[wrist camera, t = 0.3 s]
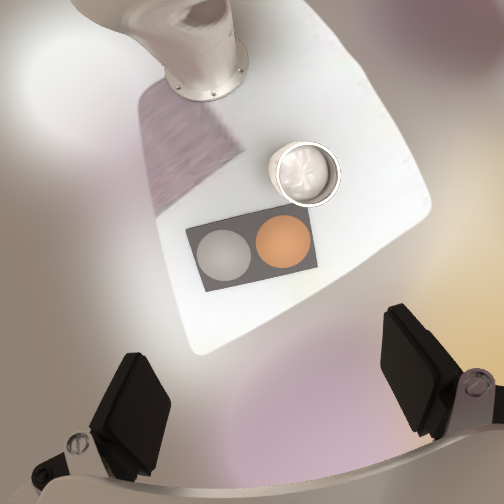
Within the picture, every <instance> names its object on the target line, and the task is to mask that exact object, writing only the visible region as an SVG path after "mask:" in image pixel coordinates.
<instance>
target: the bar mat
mask: <svg viewBox="0 0 504 504" xmlns="http://www.w3.org/2000/svg"><path fill="white" fill-rule="evenodd" d="M186 234H187V237H188V240H189V243H190V246H191V249H192V253H193V256H194V259H195V262H196V265H197V268H198V271H199V274H200V277H201V280H202V283H203V286H204V288H205V291H206V292H209V291H213V290H218V289H223V288H228V287H232V286H237V285H242V284H246V283H251V282H255V281H260V280H264V279H269V278H273V277H277V276H282V275H286V274H290V273H295V272H299V271H303V270H307V269H312V268H316V267H318V266H317V260H316V254H315V248H314V242H313V236H312V230H311V225H310V220H309V214H308V209H307V207H301V206H298V205H296V204H289V205H285V206H280V207H276V208H271V209H267V210H263V211H258V212H254V213H250V214H246V215H242V216H237V217H233V218H229V219H225V220H221V221H217V222H213V223H209V224H205V225H201V226H198V227H194V228H190V229H186Z"/></svg>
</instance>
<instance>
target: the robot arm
mask: <svg viewBox="0 0 504 504" xmlns="http://www.w3.org/2000/svg"><path fill="white" fill-rule="evenodd" d="M71 2H72V4H73V5H74V6H75V7H76V9H77V10H78V11H79V12H80V13H82V14H83V15H84V16H86V17H87V18H89V19H90V20H92V21H93V22H95V23H97V24H99V25H101V26H103V27H105V28H108V29H111V30H113V31H116V32H119V33H122V34H125V35H128V36H130V37H131V38H133V39H134V40H136V41H137V42H138V43H140V44H141V45H142V46H143V47H144V48H145V49H146V50H147V51H148V52H149V53H150V54H151V55H152V56H154V57H155V58H156V59H157V60H158V61H159V62H160V63H161V64H162V65H163V66H164V67H165V77H166V79H167V82H168V84H169V85H170V87H171V88H172V89H173V90H174V91H175V92H176V93H177V94H178V95H180V96H181V97H183V98H185V99H188V100H191V101H197V102H209V101H214V100H218V99H220V98H223V97H225V96H227V95H228V94H230V93H232V92H233V91H234V90H235V89H236V88H238V86H239V85H240V84H241V83H242V81H243V80H244V78H245V76H246V73H247V70H248V55H247V52H246V49H245V47H244V46H243V44H242V43H241V42H240V41H239V40H238V39H237V38H236V37H235V35H234V28H233V20H232V11H231V6H230V3H229V1H228V0H71ZM240 71H243V73H240ZM178 88H181V89H180V90H178ZM213 94H216V96H215V97H213V96H212V95H213ZM380 365H381V369H382V372H383V374H384V375H385V378H386V379H387V381H388V383H389V385H390V387H391V389H392V391H393V393H394V395H395V397H396V399H397V401H398V403H399V405H400V407H401V409H402V411H403V413H404V415H405V417H406V419H407V421H408V423H409V425H410V427H411V429H412V431H413V432H417V433H418V435H419V437H421V436H424V435H426V434H428V433H429V434H430V436H431V438H433V440H432V442H431V443H429V444H427V445H424V446H422V447H419V448H417V449H415V450H412V451H410V452H407V453H405V454H402V455H399V456H397V457H394V458H391V459H389V460H385V461H382V462H380V463H377V464H373V465H371V466H367V467H364V468H361V469H357V470H353V471H350V472H346V473H342V474H339V475H334V476H330V477H325V478H321V479H315V480H310V481H305V482H298V483H292V484H285V485H277V486H268V487H257V488H242V489H194V488H193V489H192V488H178V487H167V486H157V485H149V484H142V483H139V482H138V480H137V475H142V476H151V472H152V470H154V469H155V467H156V463H157V459H158V455H159V451H160V447H161V442H162V439H163V435H164V431H165V427H166V423H167V419H168V416H169V412H170V408H171V401H170V398H169V396H168V395H167V393H166V392H165V390H164V388H163V386H162V385H161V383H160V381H159V380H158V378H157V376H156V374H155V373H154V371H153V369H152V367H151V365H150V363H149V362H148V360H147V358H146V357H145V356H143V355H142V354H141V353H139V352H137V353H127V354H126V355H125V356H124V358H123V360H122V362H121V364H120V365H119V367H118V369H117V371H116V373H115V375H114V377H113V379H112V381H111V383H110V385H109V387H108V389H107V391H106V392H105V394H104V397H103V398H102V401H101V402H100V404H99V407H98V409H97V411H96V413H95V415H94V417H93V419H92V421H91V423H90V425H89V427H90V428H91V431H90V433H89V432H88V431H86V430H77V431H74V432H73V433H71V434H70V435H69V436H68V437H67V438H66V440H65V441H64V445H63V447H64V452H63V453H61V454H59V455H57V456H55V457H53V458H51V459H49V460H47V461H45V462H43V463H41V464H39V465H38V466H36V468H35V469H34V470H33V473H32V477H31V478H32V482H31V481H30V480H28V481H27V482H26V483H25V484H24V485H23V486H22V487H20V488H19V489H18V490H17V491H16V492H15V493H14V494H12V495H11V496H10V497H9V498H8V499H7V501H6V503H5V504H504V386H498V385H495V380H494V378H493V376H492V375H491V374H490V373H489V372H488V371H486V370H484V369H480V368H473V369H470V370H467V371H466V372H463V371H462V370H461V368H460V367H459V366H458V365H457V363H456V362H455V361H454V360H453V358H452V357H451V356H450V355H449V353H448V352H447V351H446V350H445V349H444V347H443V346H442V345H441V344H440V343H439V341H438V340H437V339H436V338H435V337H434V336H433V334H432V333H431V332H430V331H429V330H426V329H425V328H424V327H423V325H421V323H420V322H419V321H418V320H417V319H416V317H415V316H414V315H413V314H412V313H411V312H410V311H409V309H407V307H406V306H405V305H404V304H402V303H401V304H397V305H394V306H391V307H389V308H388V310H387V312H385V313H384V321H383V337H382V350H381V361H380Z"/></svg>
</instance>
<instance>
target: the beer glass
mask: <svg viewBox="0 0 504 504" xmlns="http://www.w3.org/2000/svg"><path fill="white" fill-rule="evenodd" d="M268 172H269V175H270V177H271V180H272V183H273V185H274V187H275V189H276V190H277V191H278V192H279V193H280V194H281V195H282V196H283V197H284V198H285V199H287V200H289V201H290V202H292V203H294V204H296V205H298V206H301V207H316V206H320V205H322V204H324V203H326V202H327V201H329V200H330V199H331V198H332V197H333V196H334V195H335V193H336V192H337V190H338V187H339V185H340V180H341V170H340V165H339V163H338V160H337V158H336V157H335V155H334V154H333V153H332V152H331V151H330V150H329V149H328V148H326V147H325V146H323V145H321V144H319V143H315V142H306V141H299V142H293V143H290V144H288V145H286V146H284V147H282V148H281V149H280V150H278V151H277V152H275V153H274V154H273V155H272V157H271V158H270V160H269V164H268Z"/></svg>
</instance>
